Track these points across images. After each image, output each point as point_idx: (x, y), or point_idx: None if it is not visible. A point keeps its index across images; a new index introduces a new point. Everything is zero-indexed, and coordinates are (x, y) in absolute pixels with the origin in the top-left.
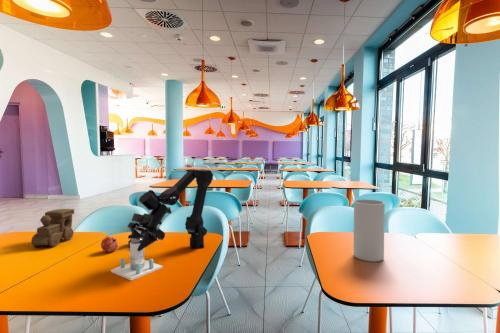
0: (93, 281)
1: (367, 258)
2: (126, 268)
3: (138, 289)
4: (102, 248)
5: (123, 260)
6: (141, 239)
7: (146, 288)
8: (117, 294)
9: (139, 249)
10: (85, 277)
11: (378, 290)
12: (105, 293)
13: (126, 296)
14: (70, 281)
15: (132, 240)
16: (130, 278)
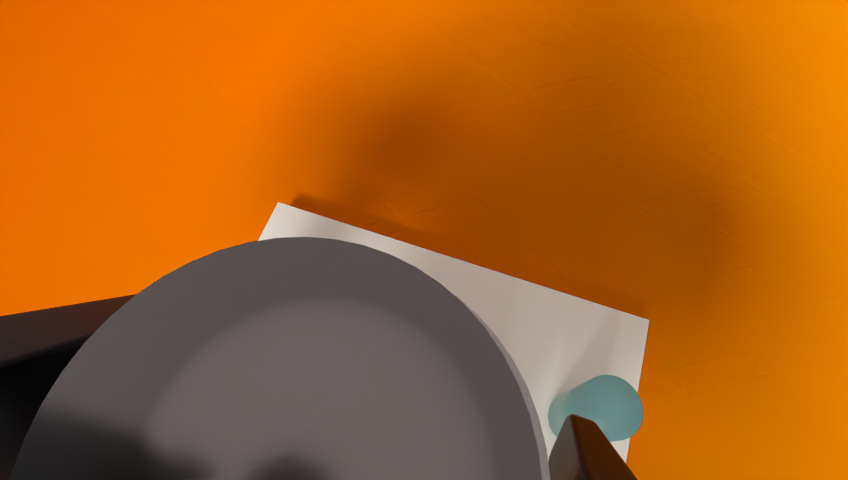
0: (605, 129)
1: None
2: None
3: (135, 108)
4: None
5: (575, 392)
6: (37, 443)
7: (74, 133)
8: (256, 28)
9: None
10: (751, 168)
11: None
12: (351, 21)
13: (176, 22)
14: (785, 89)
15: (349, 254)
16: (290, 207)
